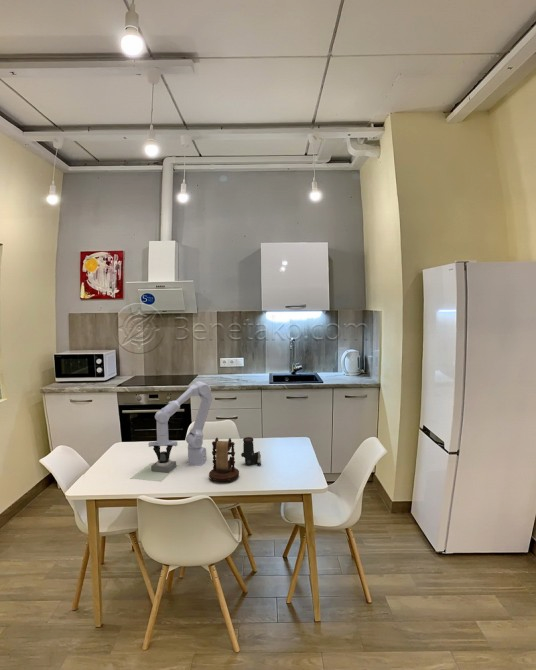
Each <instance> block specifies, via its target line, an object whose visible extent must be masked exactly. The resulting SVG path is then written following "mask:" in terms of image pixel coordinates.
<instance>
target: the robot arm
mask: <svg viewBox="0 0 536 670" xmlns="http://www.w3.org/2000/svg"><path fill="white" fill-rule="evenodd" d="M194 396H199V398H200V399H201V400H200V404H199V407H198V411H197V414H196V416H195V417H196V418H195V421H194V423H193V426H192V428H191V429H190V430H189V433H188V434H187V435H186V436H185V441H186V444H188V445H187V462H186V463H185V465H186V466H187V465H188V466H200V467H202V466H203V465H204V464H206V462H208V460H207V459H208V458H207V447H203V444H204V442H203V441H204V440H203V437H204V433H203V430H204V426H205V424H206V419H207V417H208V415H209V410H210V408H211V403H212V400H213V397H212V388H211V386H209V384H208V383H205V382H203V381H201V380H198V381H195V382H194V383H192V384H191V385H190V387H188V388H187V390H185V391H184V392H183V393H182V394H181V395H180V396H179V397H178V398H176V400H172V401H170V400H169V401H168V404H166V405H165V406H164V407H162V408H161V409H160V410H158V411H156V413H155V415H154V419H155V420H156V440H155V441H149V442H148V448H149V447H151V448H152V447H153V448H152V449H153V451H154V453H155V455H156V458H157V461H158V460H160V457H159V453H160V452H161V447H165V449H166V452H167V460H169V459H170V455H171V451H172V448H173V447H178V441H176V440H175V441H174V440H170V439H169V424H168V422H169V419H170V417H172V416H173V415H174V414H175V413H176V412H178V410H180V409H181V405H182V404H184V403H185V402H186V401H187V400H189V399H190V398H191V397H194Z"/></svg>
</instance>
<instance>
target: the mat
mask: <svg viewBox="0 0 536 670" xmlns="http://www.w3.org/2000/svg"><path fill="white" fill-rule="evenodd" d="M154 463H155V462H153V463H152V462H150V463H149V464H147V466H145V467H143V469H141V470H140V471H138V472H137V473H135V474H134V475H132V476H131V477H130V478H129V479H131V480H132V479H133V480H139V481H151V482H159V483H161V482H163V481H164V480H165V479H166V478H167V477H169V475H171V474H172V473H173V472H174V471H175V470H177V469H178V468H179V467H180V465H177V464H176V468H175V469H173V470H172V471H171V472H170V473H163V472H152V471H151V466H152V465H153V464H154Z"/></svg>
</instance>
